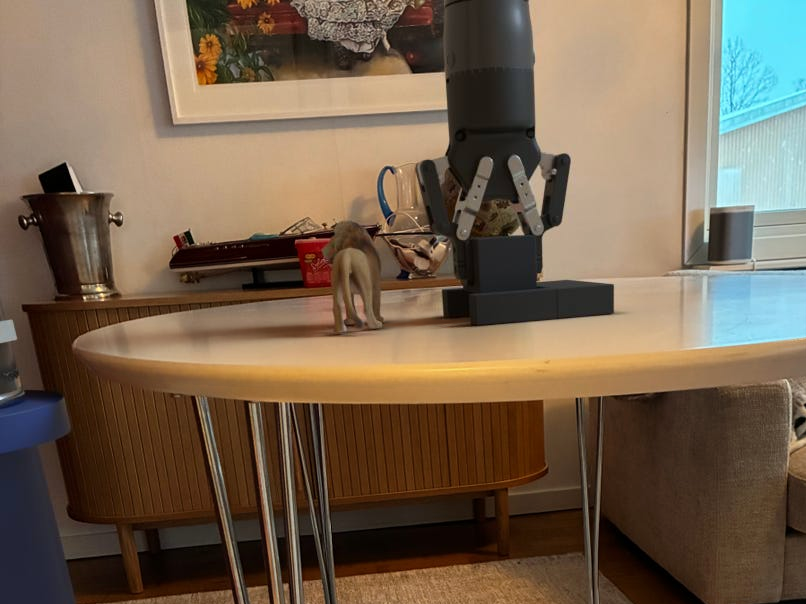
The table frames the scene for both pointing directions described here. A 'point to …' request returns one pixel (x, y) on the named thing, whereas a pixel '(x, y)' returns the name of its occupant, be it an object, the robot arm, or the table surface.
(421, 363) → the table surface
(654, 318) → the table surface
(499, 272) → the small black block
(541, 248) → the robot arm
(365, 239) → the lion figurine
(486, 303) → the big pad
